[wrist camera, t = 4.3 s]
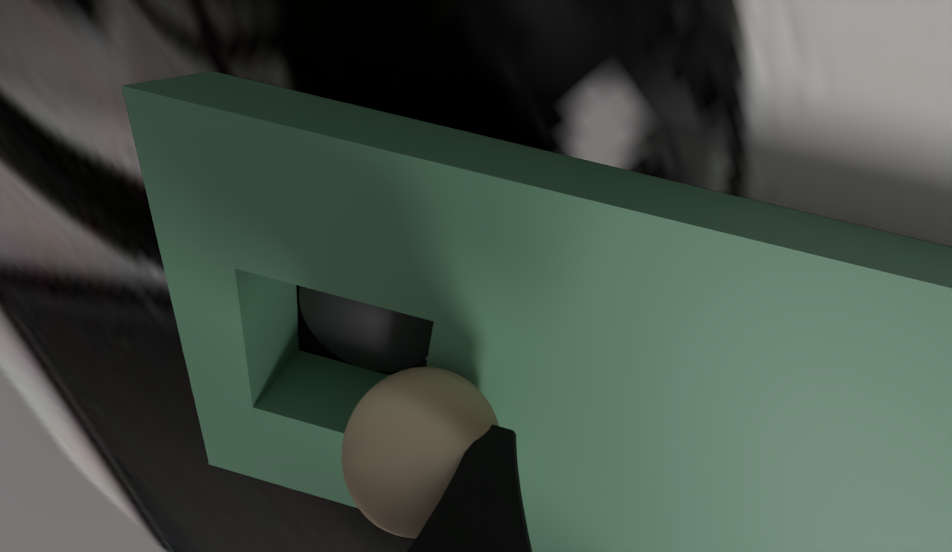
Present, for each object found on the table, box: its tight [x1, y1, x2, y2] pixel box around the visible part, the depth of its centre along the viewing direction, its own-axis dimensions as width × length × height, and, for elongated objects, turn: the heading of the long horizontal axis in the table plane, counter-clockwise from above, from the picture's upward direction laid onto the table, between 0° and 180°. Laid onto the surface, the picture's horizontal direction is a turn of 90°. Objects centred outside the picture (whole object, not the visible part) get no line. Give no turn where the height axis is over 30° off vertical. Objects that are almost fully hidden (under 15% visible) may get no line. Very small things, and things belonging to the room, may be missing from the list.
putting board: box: [122, 72, 952, 552], centre depth 14 cm, size 24×14×3 cm, turn 79°
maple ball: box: [341, 367, 499, 538], centre depth 11 cm, size 4×4×4 cm
